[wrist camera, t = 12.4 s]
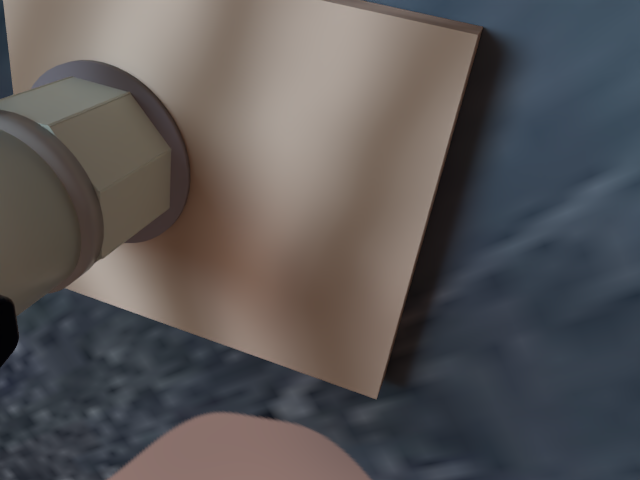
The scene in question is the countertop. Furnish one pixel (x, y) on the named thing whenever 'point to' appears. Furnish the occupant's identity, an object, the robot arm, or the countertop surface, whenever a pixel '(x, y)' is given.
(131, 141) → the light bulb
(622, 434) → the countertop surface
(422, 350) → the countertop surface
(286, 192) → the mounting board
